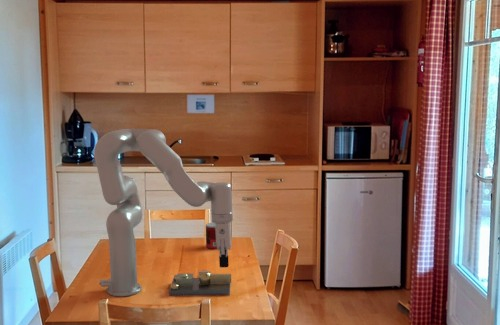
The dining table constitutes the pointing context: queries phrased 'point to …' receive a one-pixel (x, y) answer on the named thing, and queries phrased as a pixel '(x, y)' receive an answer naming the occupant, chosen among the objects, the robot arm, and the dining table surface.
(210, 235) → the canned food
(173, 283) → the plate
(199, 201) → the robot arm
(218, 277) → the lever handle
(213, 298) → the dining table surface
